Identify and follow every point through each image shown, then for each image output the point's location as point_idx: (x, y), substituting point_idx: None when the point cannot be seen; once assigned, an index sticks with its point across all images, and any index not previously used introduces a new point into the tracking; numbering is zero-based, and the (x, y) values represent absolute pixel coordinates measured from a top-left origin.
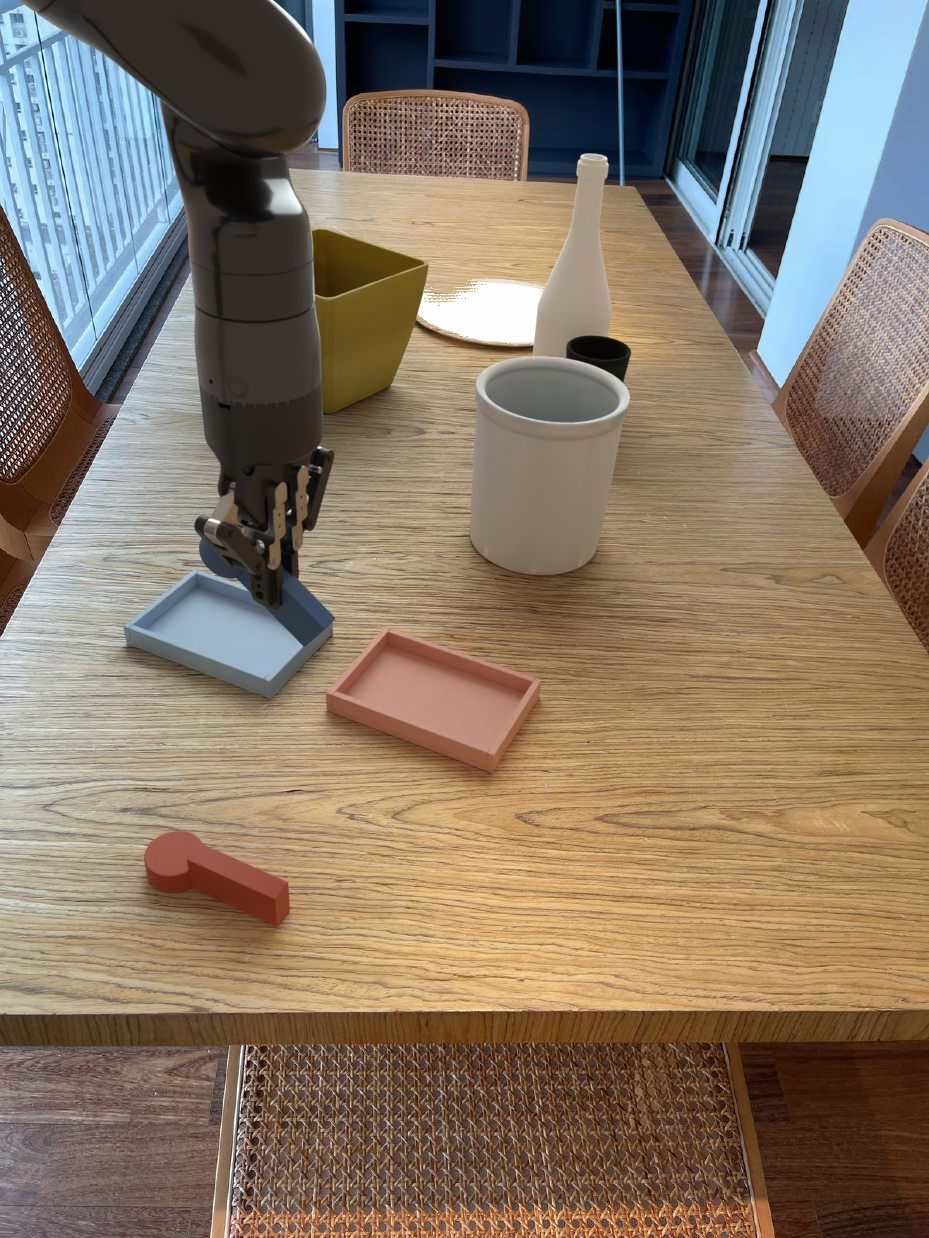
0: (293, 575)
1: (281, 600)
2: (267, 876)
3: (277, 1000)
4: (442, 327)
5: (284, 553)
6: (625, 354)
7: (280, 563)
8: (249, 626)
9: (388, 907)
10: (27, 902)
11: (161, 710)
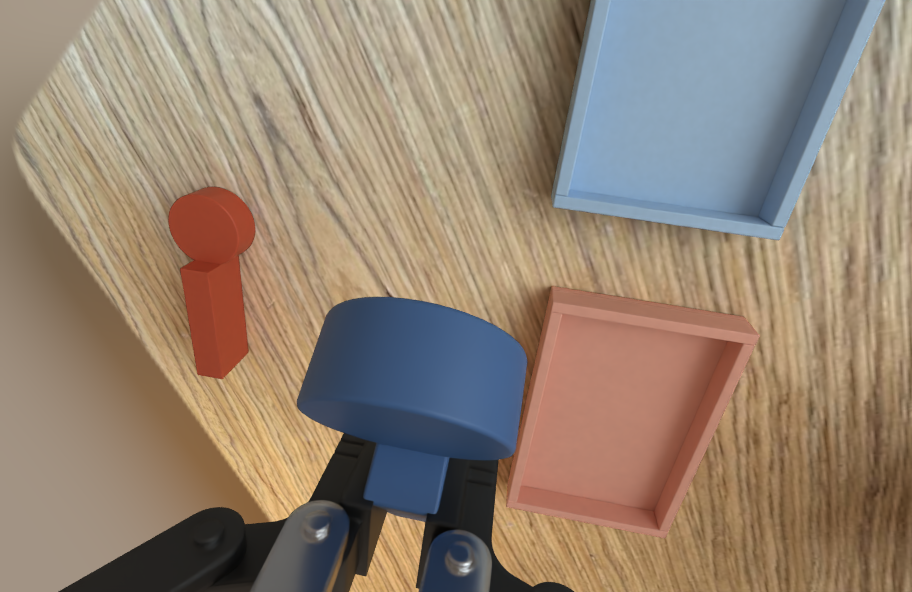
0: None
1: None
2: (214, 359)
3: (169, 372)
4: None
5: (418, 570)
6: None
7: (365, 572)
8: (747, 63)
9: (300, 428)
10: (83, 70)
11: (461, 22)
